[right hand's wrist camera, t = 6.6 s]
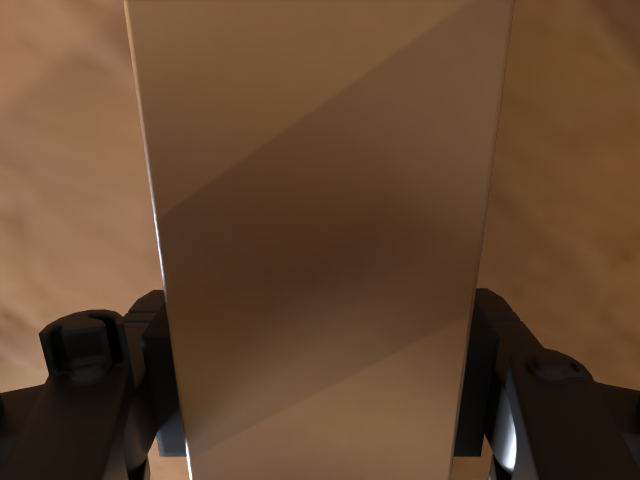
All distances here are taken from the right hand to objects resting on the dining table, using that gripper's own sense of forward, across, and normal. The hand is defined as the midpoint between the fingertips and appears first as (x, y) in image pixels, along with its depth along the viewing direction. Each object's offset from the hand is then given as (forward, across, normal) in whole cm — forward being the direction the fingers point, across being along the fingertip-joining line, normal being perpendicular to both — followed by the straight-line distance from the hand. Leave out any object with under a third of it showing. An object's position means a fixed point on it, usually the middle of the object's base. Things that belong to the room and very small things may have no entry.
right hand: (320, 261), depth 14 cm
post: (+1, 0, -22) cm, 22 cm away
